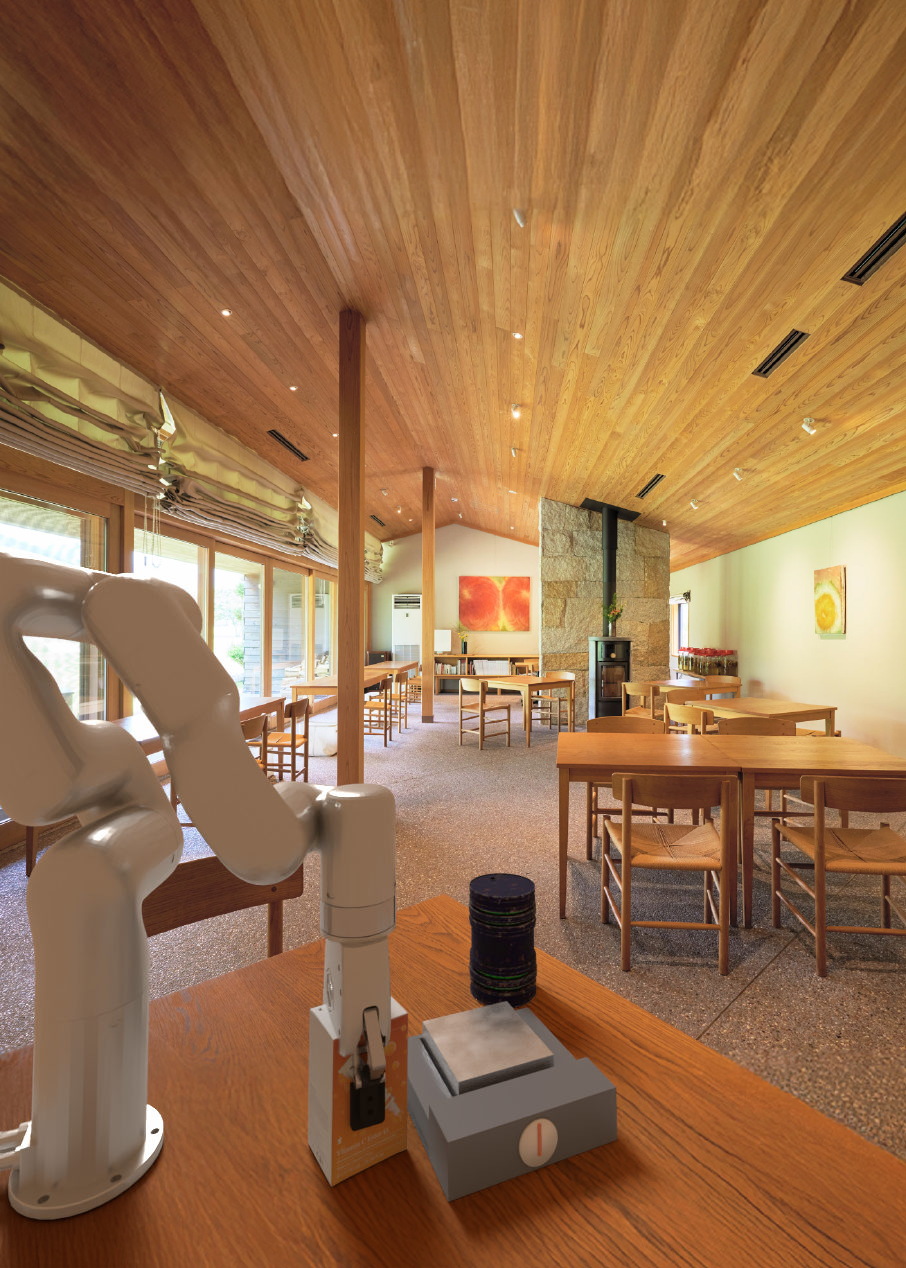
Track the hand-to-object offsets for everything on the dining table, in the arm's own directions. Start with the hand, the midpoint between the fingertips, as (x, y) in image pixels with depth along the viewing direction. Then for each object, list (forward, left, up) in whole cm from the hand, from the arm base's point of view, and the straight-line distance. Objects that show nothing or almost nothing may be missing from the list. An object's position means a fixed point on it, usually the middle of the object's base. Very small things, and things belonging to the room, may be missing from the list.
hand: (358, 1095), depth 59 cm
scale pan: (+15, +2, -2) cm, 15 cm away
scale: (+15, 0, -5) cm, 16 cm away
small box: (0, 0, -5) cm, 5 cm away
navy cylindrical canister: (+26, +20, -5) cm, 33 cm away
